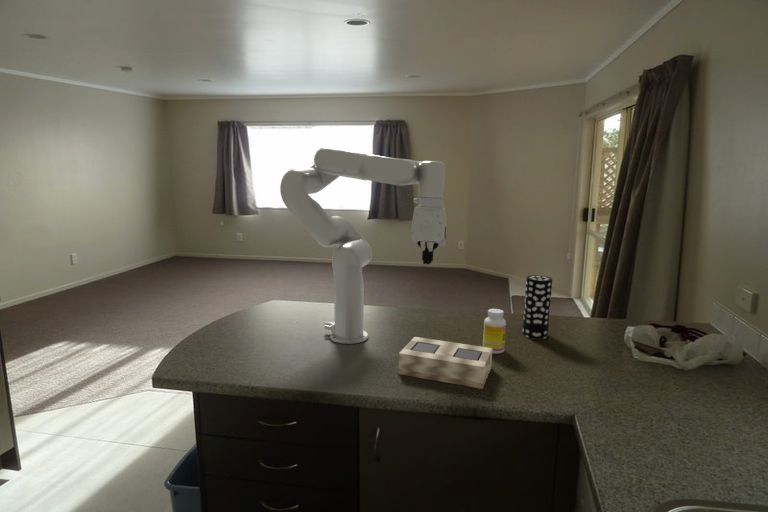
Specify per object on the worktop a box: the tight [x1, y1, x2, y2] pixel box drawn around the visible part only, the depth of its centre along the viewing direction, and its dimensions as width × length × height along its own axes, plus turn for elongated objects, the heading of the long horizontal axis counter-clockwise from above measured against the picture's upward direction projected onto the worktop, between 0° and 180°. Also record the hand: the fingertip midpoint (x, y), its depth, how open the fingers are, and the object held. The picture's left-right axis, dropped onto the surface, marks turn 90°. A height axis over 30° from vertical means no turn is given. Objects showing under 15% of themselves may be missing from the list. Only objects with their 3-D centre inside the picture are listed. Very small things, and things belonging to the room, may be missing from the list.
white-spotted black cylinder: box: [522, 274, 553, 340], centre depth 162 cm, size 8×8×20 cm
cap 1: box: [412, 343, 439, 354], centre depth 135 cm, size 6×6×4 cm
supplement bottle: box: [482, 308, 507, 355], centre depth 148 cm, size 7×7×13 cm
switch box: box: [397, 336, 493, 390], centre depth 133 cm, size 23×14×6 cm, turn 69°
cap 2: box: [455, 349, 481, 361], centre depth 131 cm, size 6×6×4 cm
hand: (427, 263), depth 146 cm, fingers closed
